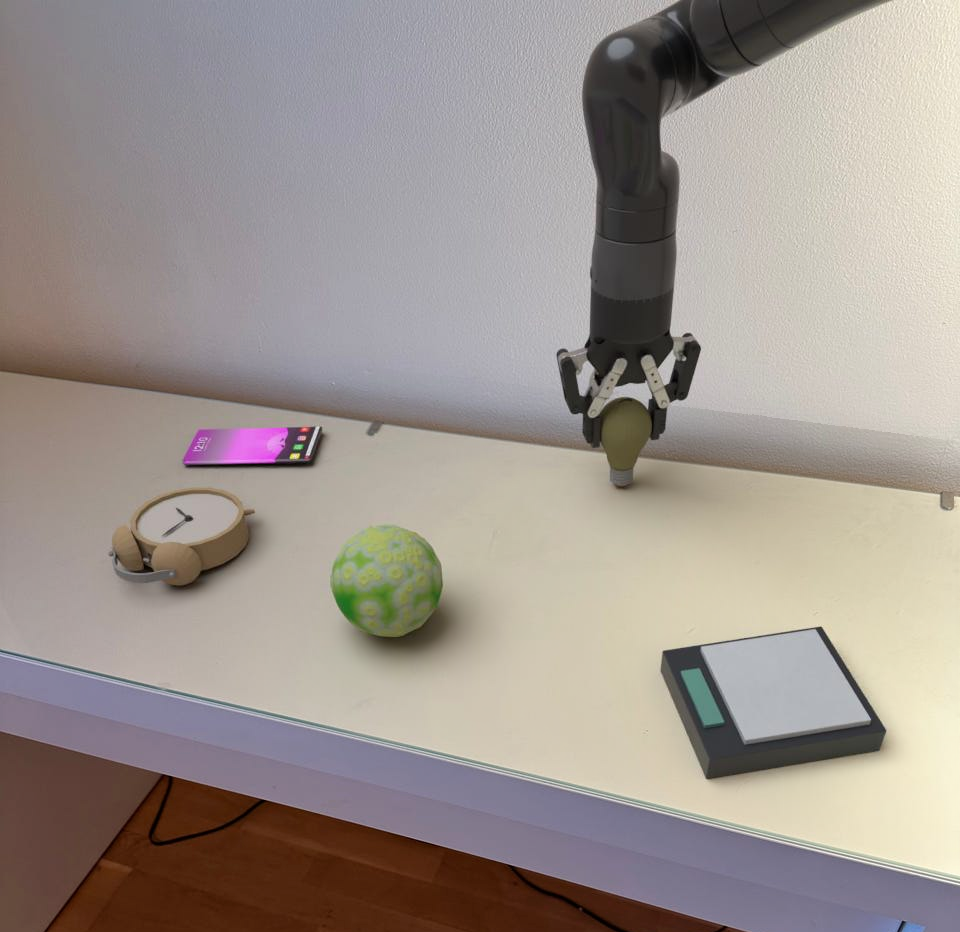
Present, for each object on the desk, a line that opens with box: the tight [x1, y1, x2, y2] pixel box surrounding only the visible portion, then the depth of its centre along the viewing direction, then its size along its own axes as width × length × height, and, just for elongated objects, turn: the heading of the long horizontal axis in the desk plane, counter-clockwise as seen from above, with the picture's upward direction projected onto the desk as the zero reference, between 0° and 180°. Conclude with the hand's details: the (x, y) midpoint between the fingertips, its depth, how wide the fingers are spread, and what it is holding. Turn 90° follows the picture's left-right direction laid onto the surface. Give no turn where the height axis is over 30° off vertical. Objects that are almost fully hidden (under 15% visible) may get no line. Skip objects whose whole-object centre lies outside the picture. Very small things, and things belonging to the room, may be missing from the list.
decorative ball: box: [329, 524, 444, 638], centre depth 85 cm, size 10×10×10 cm
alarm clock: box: [107, 487, 256, 587], centre depth 96 cm, size 11×5×15 cm
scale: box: [660, 626, 887, 780], centre depth 77 cm, size 14×12×3 cm
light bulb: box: [599, 396, 652, 488], centre depth 99 cm, size 6×6×10 cm
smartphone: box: [181, 426, 323, 466], centre depth 111 cm, size 7×15×1 cm, turn 86°
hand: (623, 439), depth 98 cm, fingers closed on light bulb, 5 cm apart
